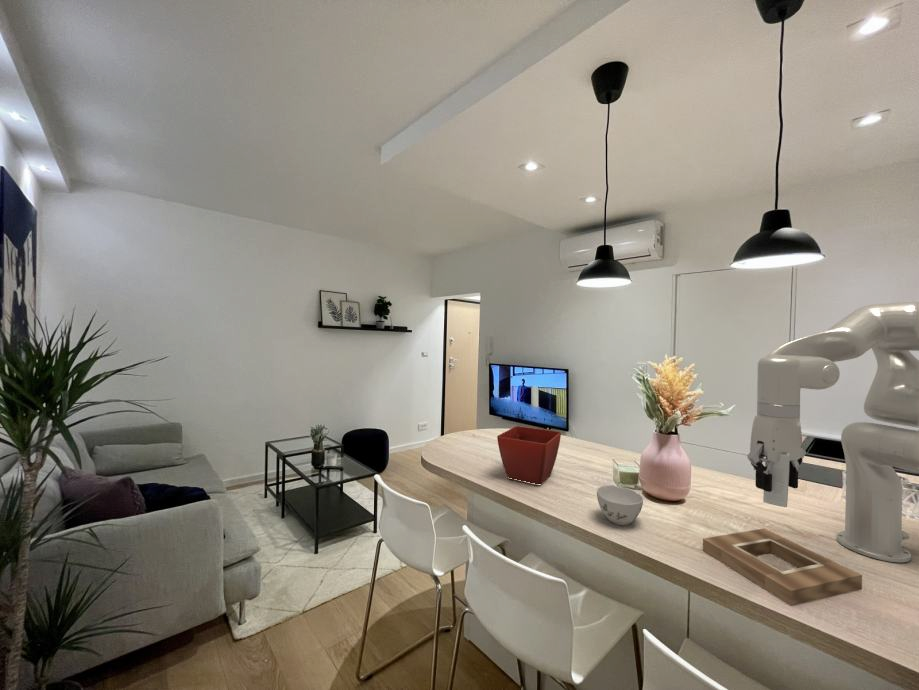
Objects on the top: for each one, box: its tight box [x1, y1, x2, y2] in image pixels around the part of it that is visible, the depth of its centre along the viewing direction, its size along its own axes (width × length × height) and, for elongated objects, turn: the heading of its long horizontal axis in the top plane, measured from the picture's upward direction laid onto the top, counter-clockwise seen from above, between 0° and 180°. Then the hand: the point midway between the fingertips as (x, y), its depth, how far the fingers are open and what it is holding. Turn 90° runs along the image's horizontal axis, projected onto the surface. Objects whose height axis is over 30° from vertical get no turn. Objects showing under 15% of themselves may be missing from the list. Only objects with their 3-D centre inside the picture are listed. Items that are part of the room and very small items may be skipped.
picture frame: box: [702, 528, 863, 606], centre depth 87 cm, size 20×20×3 cm
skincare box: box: [763, 453, 790, 508], centre depth 86 cm, size 6×4×12 cm
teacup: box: [596, 484, 644, 526], centre depth 110 cm, size 15×12×8 cm
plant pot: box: [496, 425, 562, 485], centre depth 143 cm, size 19×19×17 cm
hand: (776, 487), depth 86 cm, fingers closed on skincare box, 7 cm apart
